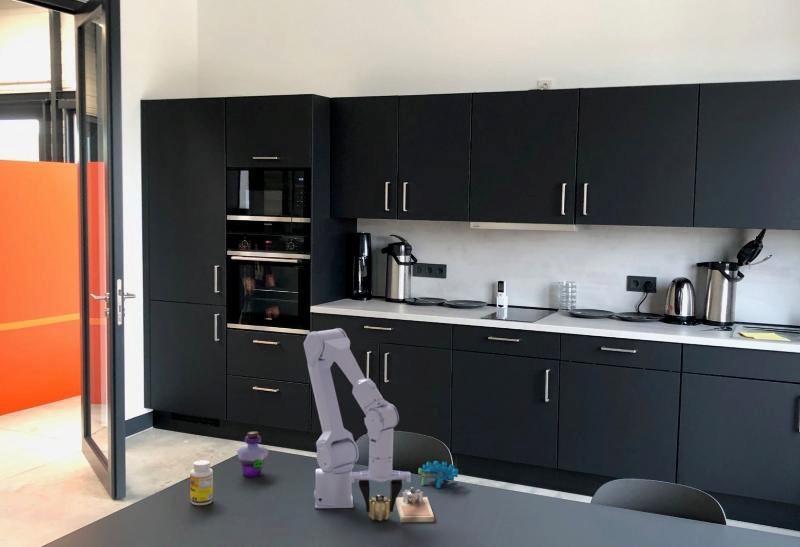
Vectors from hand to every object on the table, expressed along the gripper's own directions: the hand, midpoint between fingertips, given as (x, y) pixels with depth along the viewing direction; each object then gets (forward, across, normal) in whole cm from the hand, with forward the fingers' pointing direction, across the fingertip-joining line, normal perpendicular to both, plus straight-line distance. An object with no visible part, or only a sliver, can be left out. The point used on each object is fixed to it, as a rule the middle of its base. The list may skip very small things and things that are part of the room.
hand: (379, 510), depth 190 cm
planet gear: (+1, 0, 0) cm, 1 cm away
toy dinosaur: (+2, +18, +24) cm, 30 cm away
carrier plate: (+2, +9, +4) cm, 10 cm away
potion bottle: (+3, -33, +33) cm, 47 cm away
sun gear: (+1, +9, +8) cm, 12 cm away
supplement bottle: (+2, -44, +13) cm, 46 cm away
